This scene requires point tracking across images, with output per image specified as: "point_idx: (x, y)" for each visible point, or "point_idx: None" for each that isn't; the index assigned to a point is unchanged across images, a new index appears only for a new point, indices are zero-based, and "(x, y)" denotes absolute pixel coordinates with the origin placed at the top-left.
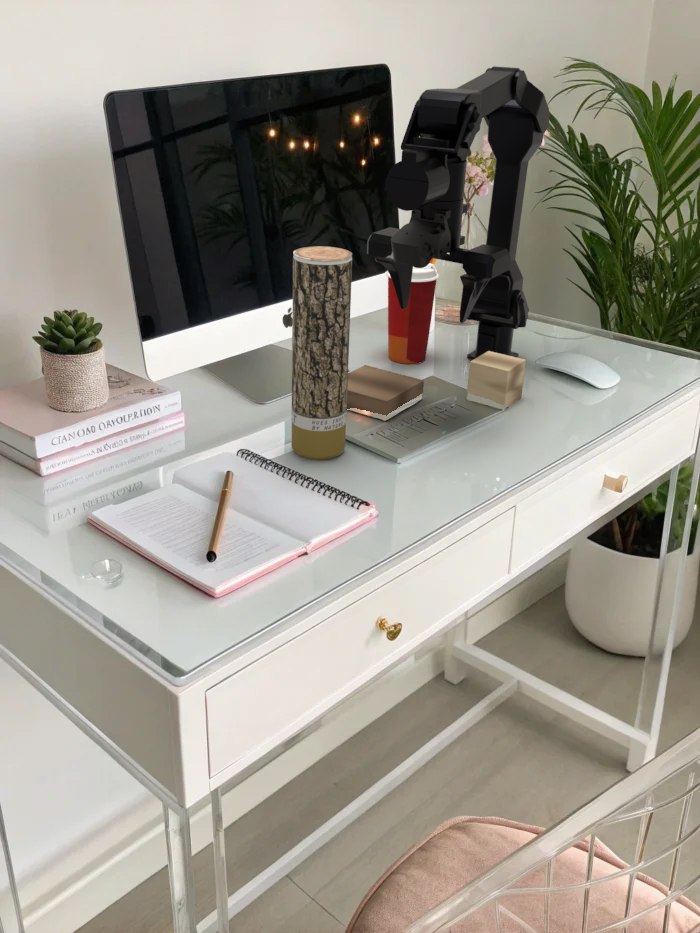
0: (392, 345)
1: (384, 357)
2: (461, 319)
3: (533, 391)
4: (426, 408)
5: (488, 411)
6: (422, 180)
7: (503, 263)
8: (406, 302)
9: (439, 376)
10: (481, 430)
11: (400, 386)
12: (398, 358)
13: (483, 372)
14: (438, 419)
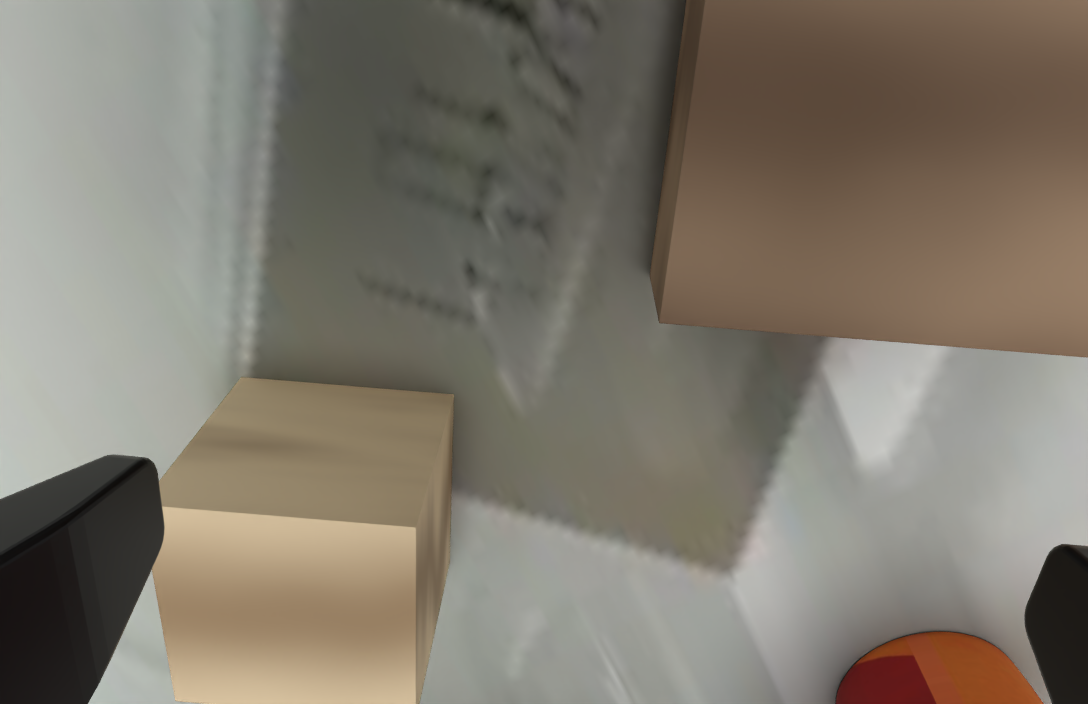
0: (1025, 701)
1: None
2: (100, 471)
3: None
4: (580, 180)
5: (291, 326)
6: None
7: None
8: (1066, 659)
9: (696, 584)
10: (182, 67)
11: (753, 140)
12: (955, 647)
13: (325, 489)
14: (451, 70)
